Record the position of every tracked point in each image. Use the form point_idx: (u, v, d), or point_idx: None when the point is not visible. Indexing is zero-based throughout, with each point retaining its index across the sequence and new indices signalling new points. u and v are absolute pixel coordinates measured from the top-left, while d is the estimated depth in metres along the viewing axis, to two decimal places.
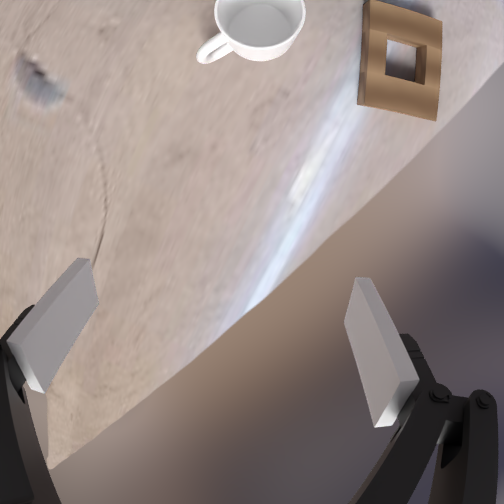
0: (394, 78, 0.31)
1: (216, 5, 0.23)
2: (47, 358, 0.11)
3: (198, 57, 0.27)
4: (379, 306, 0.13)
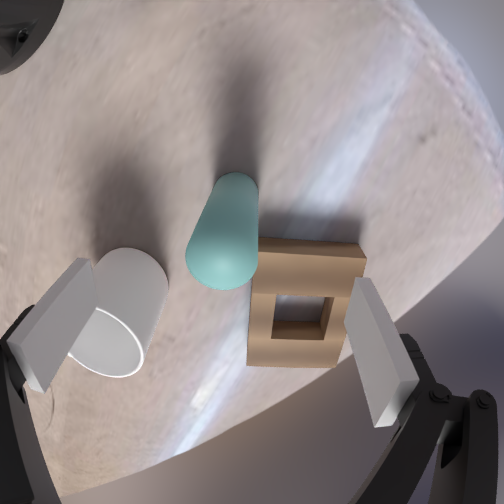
0: (283, 340, 0.32)
1: None
2: (47, 358, 0.11)
3: None
4: (379, 306, 0.13)
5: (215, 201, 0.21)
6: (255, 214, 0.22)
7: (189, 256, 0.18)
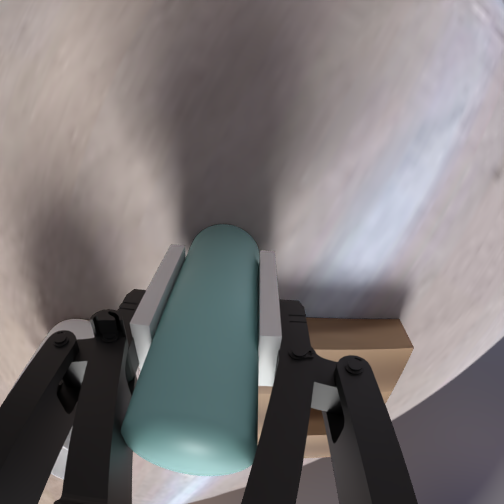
0: None
1: None
2: None
3: None
4: (271, 274, 0.15)
5: (179, 310, 0.11)
6: (254, 329, 0.12)
7: (129, 439, 0.08)
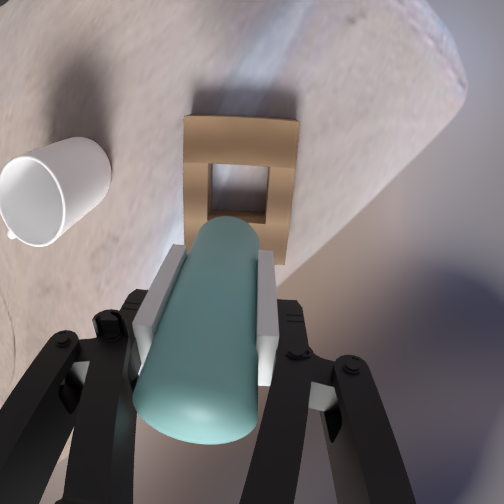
0: None
1: None
2: None
3: None
4: (268, 273, 0.15)
5: (187, 289, 0.12)
6: (254, 307, 0.13)
7: (140, 405, 0.09)
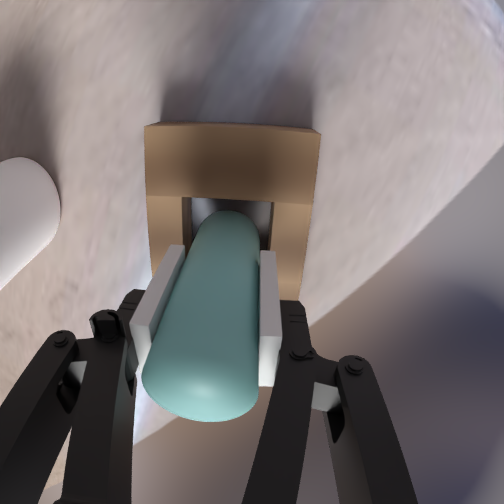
0: None
1: None
2: None
3: None
4: (271, 274, 0.15)
5: (192, 275, 0.13)
6: (255, 293, 0.14)
7: (148, 382, 0.10)
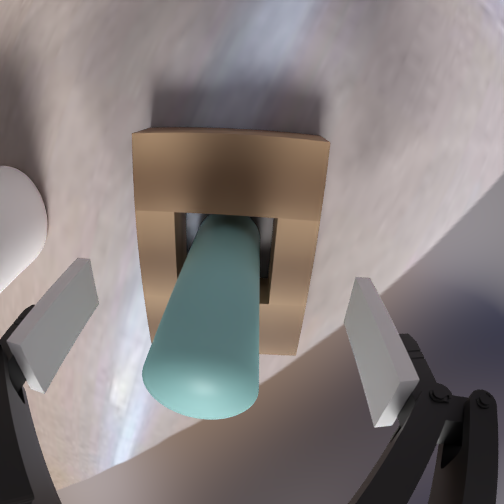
0: None
1: None
2: (47, 358, 0.11)
3: None
4: (379, 306, 0.13)
5: (192, 274, 0.13)
6: (255, 291, 0.14)
7: (148, 380, 0.10)
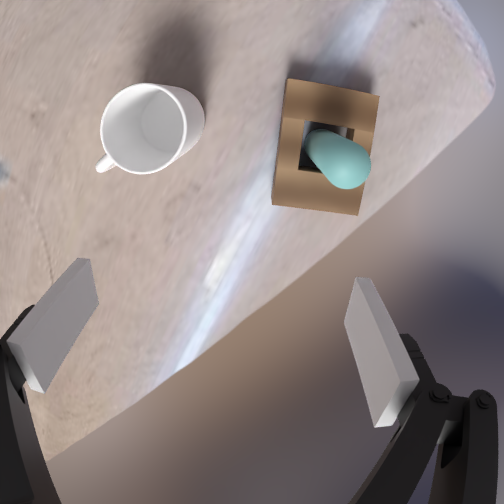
0: (309, 173, 0.34)
1: (101, 125, 0.25)
2: (47, 358, 0.11)
3: None
4: (379, 306, 0.13)
5: (329, 136, 0.28)
6: None
7: (326, 161, 0.25)
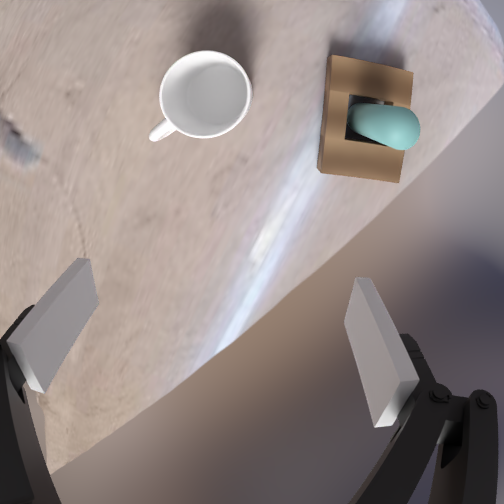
0: (354, 142, 0.34)
1: (161, 90, 0.26)
2: (47, 358, 0.11)
3: None
4: (379, 306, 0.13)
5: (377, 105, 0.28)
6: None
7: (383, 124, 0.25)
